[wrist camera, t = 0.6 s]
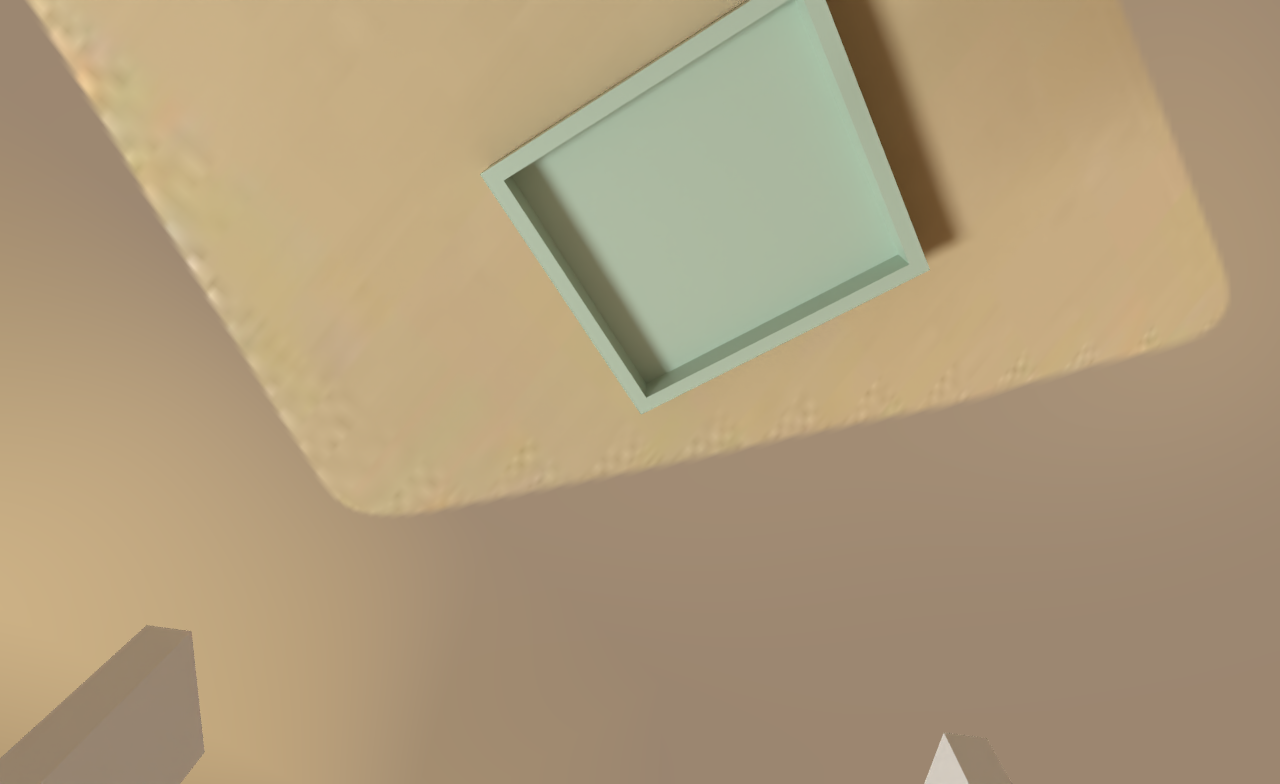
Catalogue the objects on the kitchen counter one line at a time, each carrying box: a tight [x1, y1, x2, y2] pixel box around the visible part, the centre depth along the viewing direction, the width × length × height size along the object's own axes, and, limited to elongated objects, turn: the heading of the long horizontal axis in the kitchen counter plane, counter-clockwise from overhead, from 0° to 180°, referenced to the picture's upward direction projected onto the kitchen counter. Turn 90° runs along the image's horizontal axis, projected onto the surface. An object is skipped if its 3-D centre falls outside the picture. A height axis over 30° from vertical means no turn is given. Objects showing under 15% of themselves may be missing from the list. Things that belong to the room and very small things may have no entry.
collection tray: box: [480, 0, 930, 414], centre depth 30 cm, size 13×15×2 cm
